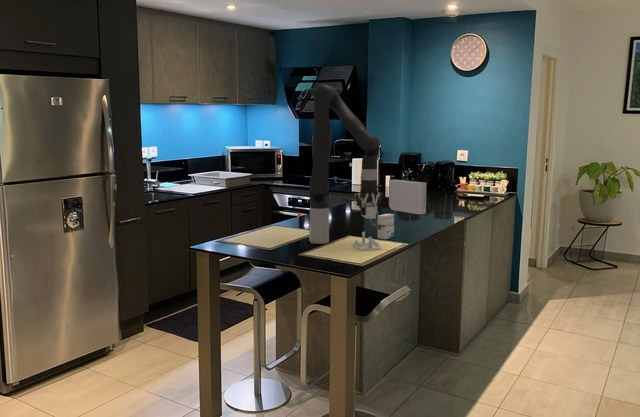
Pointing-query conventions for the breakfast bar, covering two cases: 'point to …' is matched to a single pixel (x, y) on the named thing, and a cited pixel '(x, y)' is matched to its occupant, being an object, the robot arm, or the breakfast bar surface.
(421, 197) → the game console
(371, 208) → the drive
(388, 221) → the ink box
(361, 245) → the grey peg stand
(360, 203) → the ceramic cup
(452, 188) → the breakfast bar surface
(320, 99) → the robot arm
